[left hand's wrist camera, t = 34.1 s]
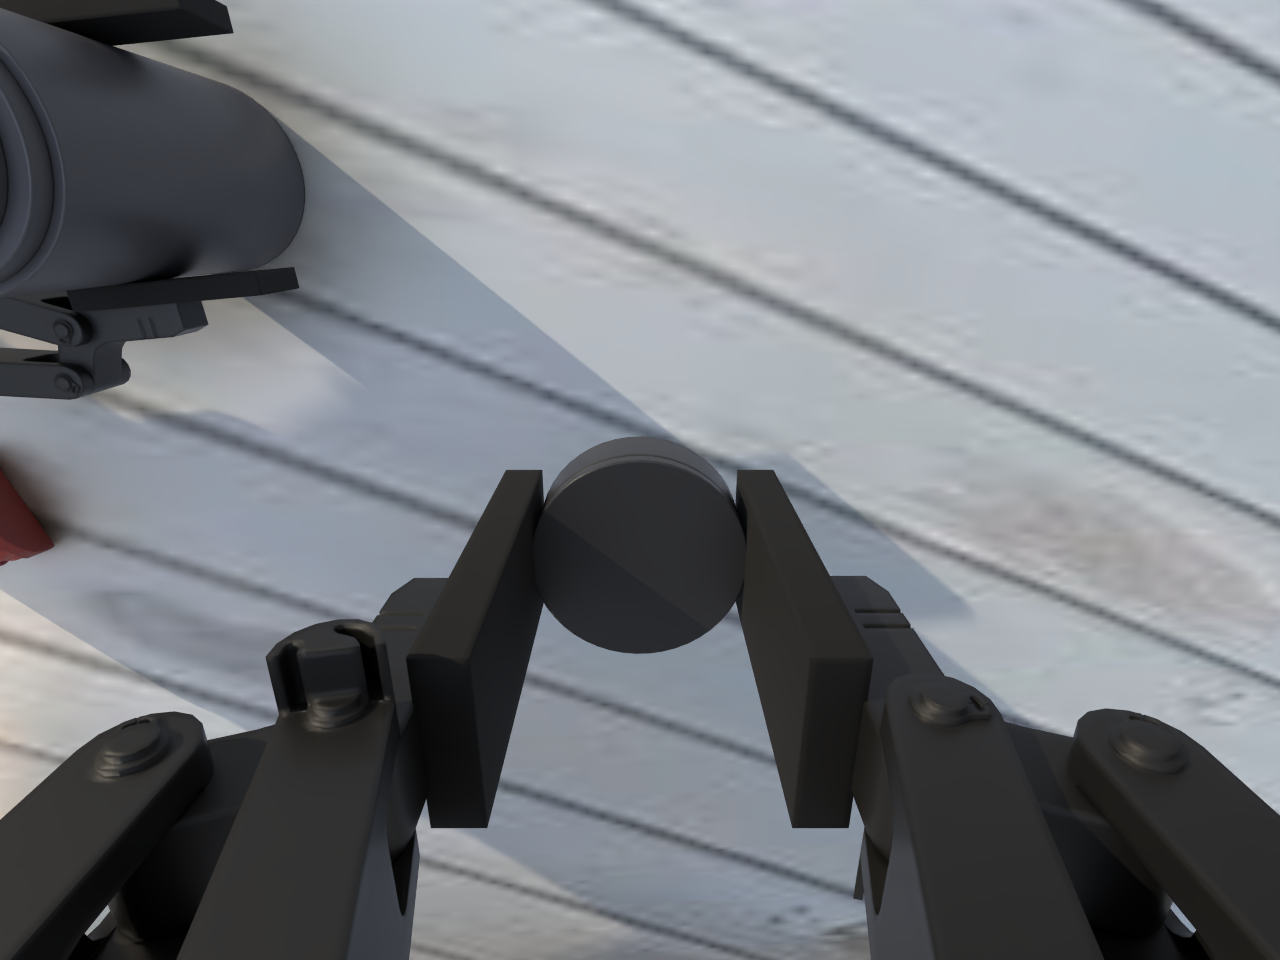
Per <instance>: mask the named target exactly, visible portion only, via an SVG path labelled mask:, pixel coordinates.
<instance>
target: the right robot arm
mask: <svg viewBox="0 0 1280 960" xmlns="http://www.w3.org/2000/svg"><path fill="white" fill-rule="evenodd" d="M0 8H2V9H5V10H8V11H11V12H14V13H17V14H20V15H23V16H26V17H28V18H31V19H34V20H37V21H40V22H43V23H46V24H49V25H52V26H55V27H58V28H61V29H64V30H67V31H70V32H73V33H76V34H78V35H81V36H84V37H87V38H90V39H93V40H96V41H99V42H102V43H105V44H108V45H111V46H115V45H124V44H134V43H144V42H153V41H163V40H172V39H182V38H191V37H201V36H211V35H220V34H230V33H233V29H232V25H231V21H230V17H229V13H228V9H227V6H225V5H223V4H221V3H219V2H218V1H216V0H0ZM297 288H299V285H298V281H297V277H296V273H295V269H294V267H290V268H279V269H269V270H258V271H247V272H236V273H226V274H215V275H204V276H194V277H183V278H172V279H162V280H154V281H145V282H136V283H128V284H119V285H110V286H102V287H93V288H84V289H76V290H67V291H58V292H50V293H41V294H32V295H24V296H15V297H6V298H0V329H2V330H6V331H9V332H13V333H17V334H20V335H24V336H27V337H31V338H34V339H38V340H42V341H45V342H49V343H52V344H56V345H58V351H50V350H32V349H13V348H0V396H13V397H31V398H50V399H69V400H70V399H76V398H80V397H83V396H86V395H89V394H93V393H96V392H99V391H102V390H106V389H109V388H112V387H115V386H118V385H122V384H124V383H126V382H127V381H128V380H129V378H130V376H131V370H130V368H129V365H128V364H127V362H126V361H125V360H124V359H123V358H122V347H123V345H124V343H125V342H126V341H134V340H145V339H156V338H167V337H175V336H179V335H183V334H187V333H191V332H196V331H198V330H200V329H202V328H203V327H205V326H207V325H208V322H207V318H206V315H205V312H204V309H203V305H202V302H201V301H203V300H214V299H225V298H236V297H247V296H257V295H265V294H270V293H276V292H281V291H286V290H292V289H297Z"/></svg>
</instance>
